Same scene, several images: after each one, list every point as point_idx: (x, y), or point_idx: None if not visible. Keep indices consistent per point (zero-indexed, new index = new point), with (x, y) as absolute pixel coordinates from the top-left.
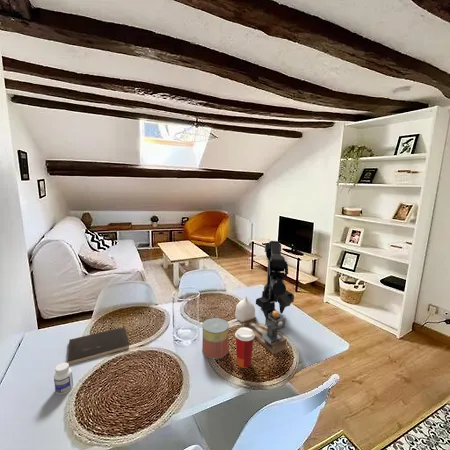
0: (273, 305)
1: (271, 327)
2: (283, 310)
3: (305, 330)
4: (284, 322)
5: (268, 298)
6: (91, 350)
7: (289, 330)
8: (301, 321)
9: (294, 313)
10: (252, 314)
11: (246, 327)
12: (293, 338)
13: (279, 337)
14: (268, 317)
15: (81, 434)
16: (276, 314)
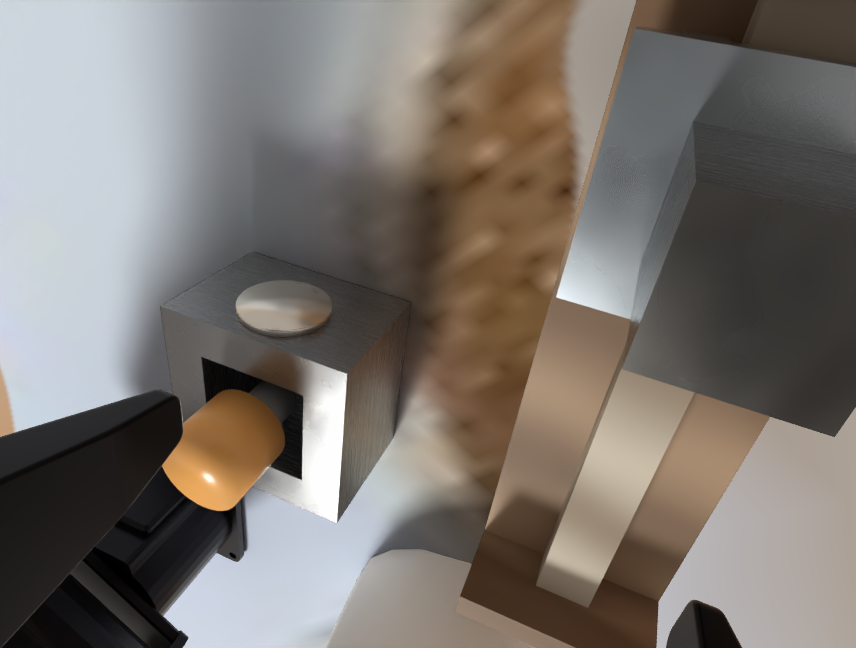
0: (124, 516)
1: (830, 327)
2: (64, 423)
3: (75, 25)
4: (211, 284)
5: (102, 644)
6: None
7: (243, 176)
8: (25, 174)
9: (19, 301)
10: (419, 623)
11: (656, 585)
12: (322, 21)
13: (679, 66)
14: (337, 484)
15: None
16: (225, 441)
